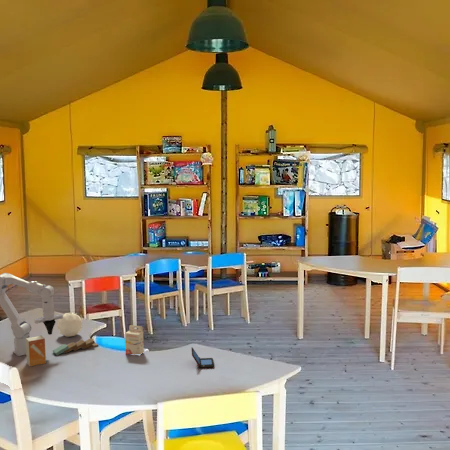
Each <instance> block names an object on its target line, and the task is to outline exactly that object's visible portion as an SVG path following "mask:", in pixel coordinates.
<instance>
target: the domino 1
mask: <svg viewBox="0 0 450 450" xmlns="http://www.w3.org/2000/svg"><path fill="white" fill-rule="evenodd" d="M67 345H68V344H66V343H63V344H61V345H60V346H58V347H56V348H54V349H53V350H52V352H53V354H54V355H55V356H58V355H60V354H62V353H64V351H66V350H68V349H69V348H68V346H67Z"/></svg>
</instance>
